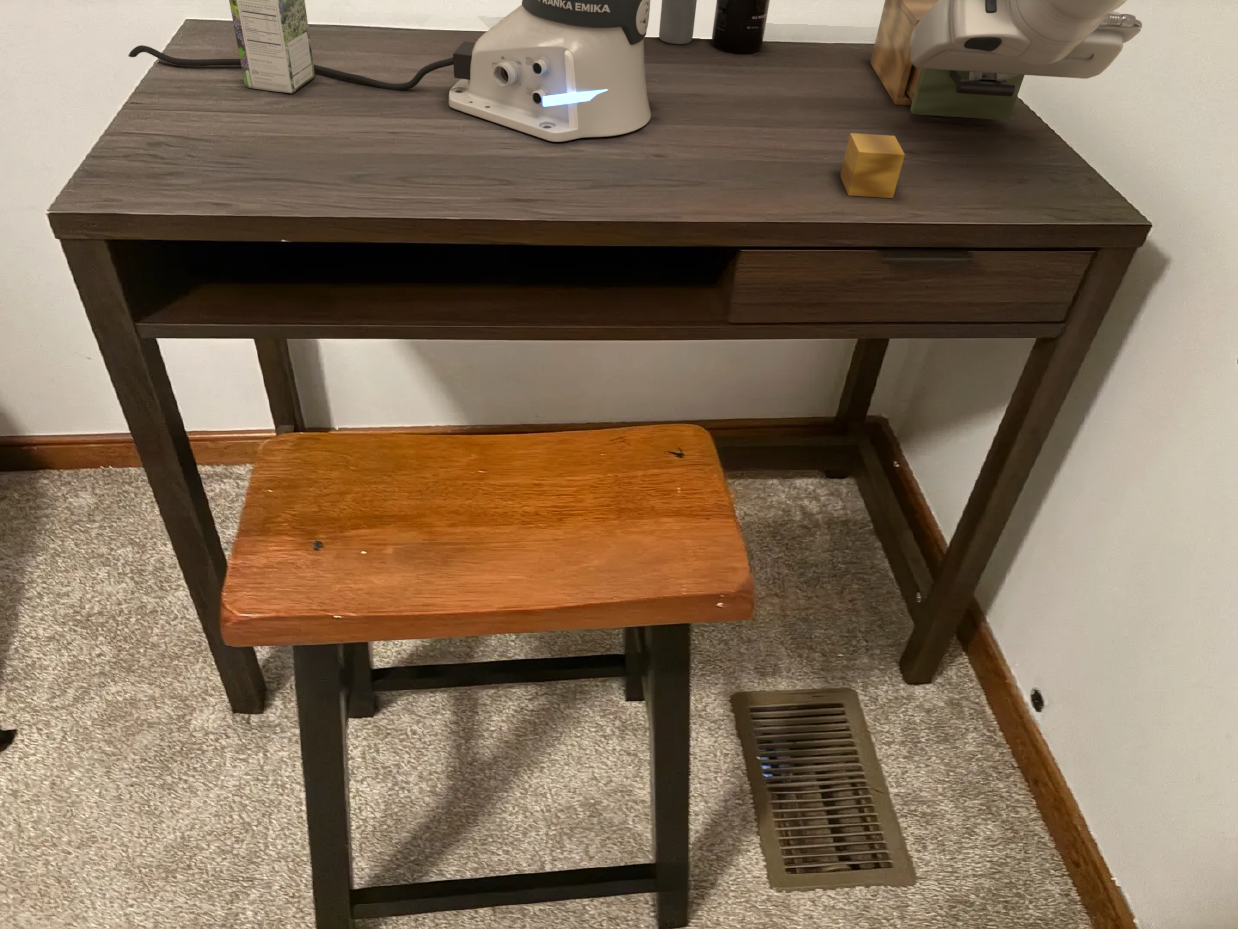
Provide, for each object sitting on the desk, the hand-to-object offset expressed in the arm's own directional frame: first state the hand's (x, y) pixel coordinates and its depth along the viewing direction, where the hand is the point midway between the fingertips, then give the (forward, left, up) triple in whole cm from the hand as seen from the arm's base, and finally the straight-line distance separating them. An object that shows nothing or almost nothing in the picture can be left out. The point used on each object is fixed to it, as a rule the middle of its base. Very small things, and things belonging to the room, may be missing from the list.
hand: (982, 78), depth 101 cm
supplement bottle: (-32, +15, -6) cm, 35 cm away
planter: (-40, +13, -6) cm, 42 cm away
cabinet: (-6, +14, -6) cm, 16 cm away
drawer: (-3, +6, -5) cm, 8 cm away
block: (-8, -20, -6) cm, 23 cm away
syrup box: (-73, -27, -6) cm, 78 cm away
